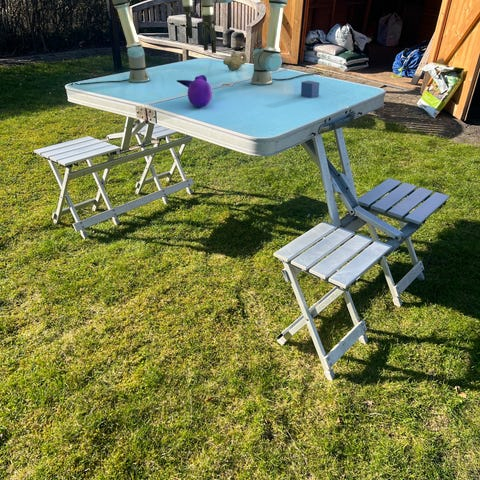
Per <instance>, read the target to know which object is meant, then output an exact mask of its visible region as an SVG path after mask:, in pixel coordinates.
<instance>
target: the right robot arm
mask: <svg viewBox="0 0 480 480" xmlns="http://www.w3.org/2000/svg"><path fill="white" fill-rule="evenodd" d="M233 1H234V0H200V11H201V23H202V29H201V39H202V41H203V52H204V51H205V52H206V51H209V41H208V38H209V37H210V46H211V54H216V53H217V41H218V37H217V32H216V28H215V27H216V26H215V23H213V22H215V7H214V6H215V5H214V4H227V3H231V2H233ZM287 4H288V0H268V5H269V6H270V11H269V18H268V27H267V36H266V44H265V46H264V48H257V49H254V50H253V55H252V56H253V73H252V75H251V79H250V84H252V85H255V86H268V85H272V84H273V81H289V80H292V79H295V78H299V77H304V76H311V75H312V76H314V75H319V74H321V75H323V74H324V73H323V72H322V71H318V72H313V73H312V72H311V73H304V74H299V75H296V76H292V77H287V78H272V74H271V72H277V71H278V70H280V68H281V67H282V64H283V58H282V56H281V53H282V52H281V49H280V40H281V33H282V24H283V17H284V9H285V8H286V6H288V5H287ZM208 35H209V37H208Z"/></svg>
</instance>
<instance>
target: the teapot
mask: <svg viewBox="0 0 480 480" xmlns="http://www.w3.org/2000/svg"><path fill="white" fill-rule="evenodd" d="M241 58H242V59H241ZM222 61H223V62H222V63H223V65H225V66H227V69H228V70H229V71H231V72H233V71H234V72H235V71H238V70H239V69H241V68H242V67H243V65H245V64H246V63H247V55H246V52H241V53H239V54H238V53H237V52H236V50H232V53H231V54H230V57H229V56H226V57H224V59H223V60H222Z"/></svg>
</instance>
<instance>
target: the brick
mask: <svg viewBox="0 0 480 480" xmlns="http://www.w3.org/2000/svg"><path fill="white" fill-rule="evenodd" d="M300 85H301V86H300V89H301V90H300V96H301V97H306V98H308V99H309V98H310V99H313V98H317V97H319V95H320V94H319V93H320V82H319V81H313V80H304V81H301V84H300Z"/></svg>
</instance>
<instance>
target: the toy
mask: <svg viewBox="0 0 480 480" xmlns="http://www.w3.org/2000/svg"><path fill="white" fill-rule="evenodd" d="M176 82H177V83H179V84H181V85H183V86H185V87H186V88H187V98H188V101H189V102H190V104H191V105H193V106H194V107H199V108H204V107H206V106H207V105H208V104H209V103H210V102H211V101H212V100H213V95H214V92H213V88H212V86H211V84H210V83H209V82H208V79H207V76H206V75H204V74H201V75H200V74H199V75H198V76H195V77H194V80H190V79H177V80H176Z"/></svg>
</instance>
